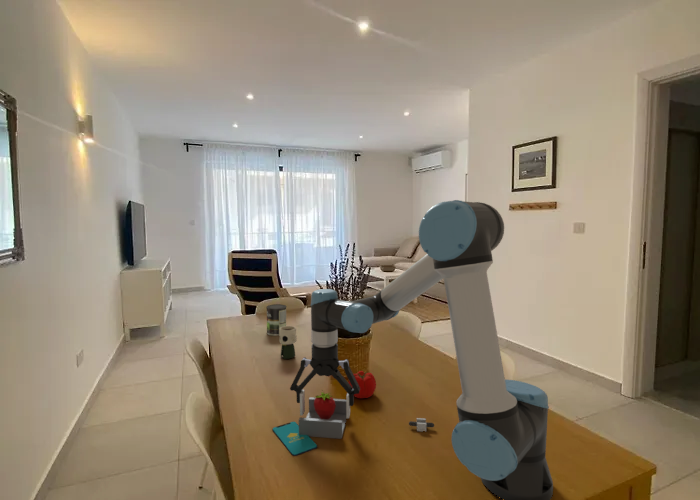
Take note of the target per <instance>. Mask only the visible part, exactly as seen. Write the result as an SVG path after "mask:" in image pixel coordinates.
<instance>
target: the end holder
mask: <svg viewBox="0 0 700 500" xmlns="http://www.w3.org/2000/svg"><path fill="white" fill-rule="evenodd" d="M314 400H315V397H310V396H309V398H308V413H307V414H306V417H301V416H300V417H299V418H298V425H299V434H300V435H308V436H309V437H310V438H312V437H315V438H324V439H325V438H328V439H339V440H342V439H343V435H344V432H345V427H346V424H345V423H346V422H347V420H346V419H348V418H346V399H345V398H344V399H342V398H333V400H334V401H335V405H336V407H335V411H334V413H333V415H332V416H331V417H330V419H321V418H320V417H319V415H318V414H317V412H316V411H315V407H314Z"/></svg>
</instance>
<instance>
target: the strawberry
mask: <svg viewBox="0 0 700 500" xmlns="http://www.w3.org/2000/svg"><path fill="white" fill-rule="evenodd" d="M314 398H315V400H314V407H315V411H316V412H317V414H318V415H319V417H320V418H321V419H330V417H331V416H332V415H333V413H334V411H335V407H336V405H335V401H334V400H333V399H334V398H333V395H331V392H328V393H325V390H323V389H321V394H319V395H315V397H314Z"/></svg>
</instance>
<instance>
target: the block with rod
mask: <svg viewBox="0 0 700 500" xmlns="http://www.w3.org/2000/svg"><path fill="white" fill-rule="evenodd" d="M408 426H411V427H416V431H417V432H423V431H425V432H427V428H434V427H435V424H434V423H433V422H427V419H426V418H423V417H422V418H421V417H416V421H411V420H410V421H409V422H408Z"/></svg>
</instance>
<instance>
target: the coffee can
mask: <svg viewBox="0 0 700 500" xmlns="http://www.w3.org/2000/svg"><path fill="white" fill-rule="evenodd" d="M284 326H287V305H285V304H282V303H281V304H278V303H277V304H269V305H267V306H266V334H267V336H268V335H269V336H271V337H272V336H274V337H276V336H277V337H280V336H279V329H280V327H284Z"/></svg>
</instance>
